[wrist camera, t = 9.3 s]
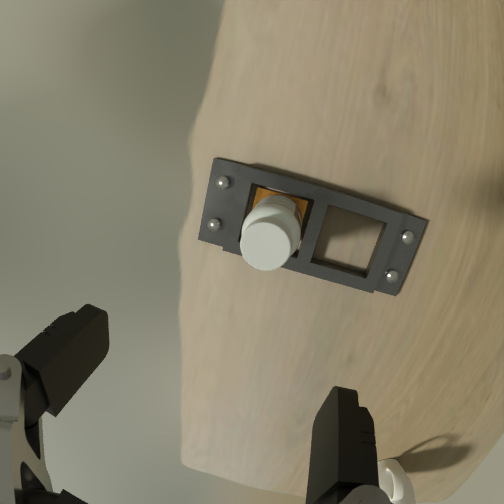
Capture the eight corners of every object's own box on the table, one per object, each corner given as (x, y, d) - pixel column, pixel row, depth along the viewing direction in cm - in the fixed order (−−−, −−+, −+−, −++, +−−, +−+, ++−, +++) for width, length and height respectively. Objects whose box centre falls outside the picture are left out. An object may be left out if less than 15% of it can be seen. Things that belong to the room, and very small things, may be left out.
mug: (403, 472, 39) (408, 524, 29) (358, 477, 41) (358, 531, 30) (419, 436, 35) (430, 497, 25) (367, 443, 37) (370, 507, 26)
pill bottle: (294, 247, 28) (287, 285, 21) (248, 233, 29) (226, 266, 22) (308, 202, 27) (307, 226, 20) (260, 187, 27) (241, 206, 20)
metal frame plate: (215, 157, 27) (211, 158, 26) (425, 220, 25) (429, 223, 24) (199, 238, 30) (195, 242, 29) (394, 294, 28) (397, 300, 27)
